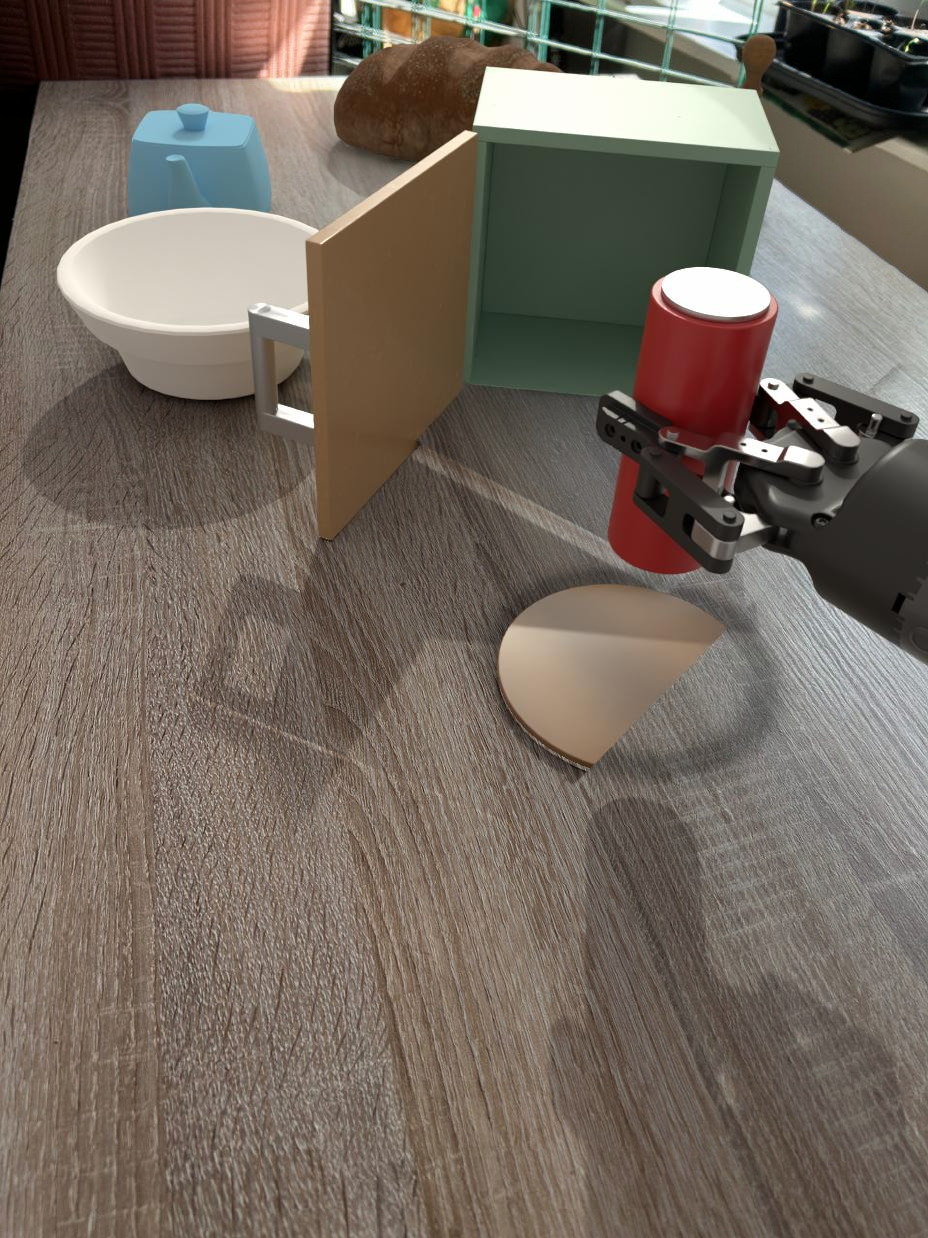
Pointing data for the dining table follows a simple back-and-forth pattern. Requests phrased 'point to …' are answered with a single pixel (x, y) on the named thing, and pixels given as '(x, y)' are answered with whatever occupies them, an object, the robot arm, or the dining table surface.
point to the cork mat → (597, 662)
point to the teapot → (197, 162)
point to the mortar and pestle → (757, 60)
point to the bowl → (189, 294)
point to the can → (692, 387)
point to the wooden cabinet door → (376, 329)
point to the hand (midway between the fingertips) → (648, 390)
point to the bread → (420, 94)
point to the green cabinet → (600, 217)
